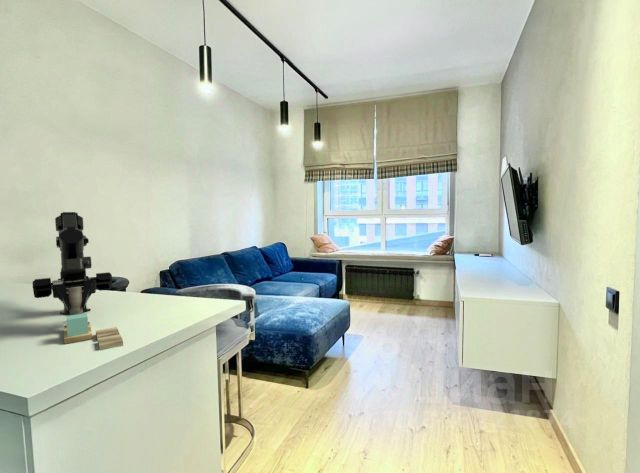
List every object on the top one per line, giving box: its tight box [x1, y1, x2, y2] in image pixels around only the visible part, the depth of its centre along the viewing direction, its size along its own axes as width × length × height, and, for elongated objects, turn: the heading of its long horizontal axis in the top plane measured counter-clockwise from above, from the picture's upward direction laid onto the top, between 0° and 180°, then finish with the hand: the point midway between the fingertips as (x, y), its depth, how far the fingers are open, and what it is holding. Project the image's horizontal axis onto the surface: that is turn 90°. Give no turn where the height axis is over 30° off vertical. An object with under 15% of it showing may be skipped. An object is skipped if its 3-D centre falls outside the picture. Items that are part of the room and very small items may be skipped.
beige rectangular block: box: [95, 326, 124, 351], centre depth 92 cm, size 14×5×1 cm, turn 36°
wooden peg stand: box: [63, 287, 93, 344], centre depth 96 cm, size 14×6×12 cm, turn 36°
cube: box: [65, 312, 89, 337], centre depth 94 cm, size 4×4×4 cm
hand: (76, 308), depth 99 cm, fingers closed on wooden peg stand, 3 cm apart
